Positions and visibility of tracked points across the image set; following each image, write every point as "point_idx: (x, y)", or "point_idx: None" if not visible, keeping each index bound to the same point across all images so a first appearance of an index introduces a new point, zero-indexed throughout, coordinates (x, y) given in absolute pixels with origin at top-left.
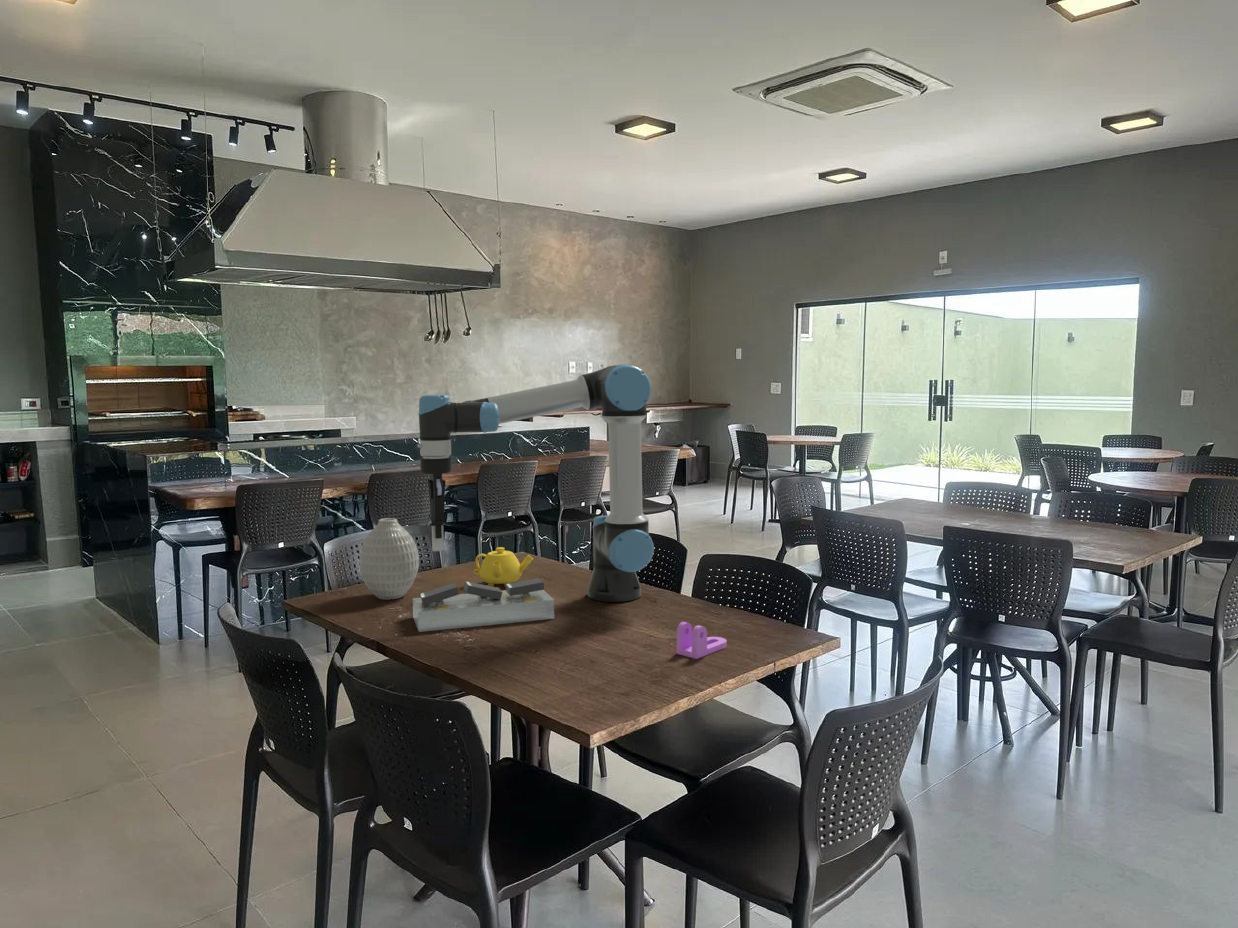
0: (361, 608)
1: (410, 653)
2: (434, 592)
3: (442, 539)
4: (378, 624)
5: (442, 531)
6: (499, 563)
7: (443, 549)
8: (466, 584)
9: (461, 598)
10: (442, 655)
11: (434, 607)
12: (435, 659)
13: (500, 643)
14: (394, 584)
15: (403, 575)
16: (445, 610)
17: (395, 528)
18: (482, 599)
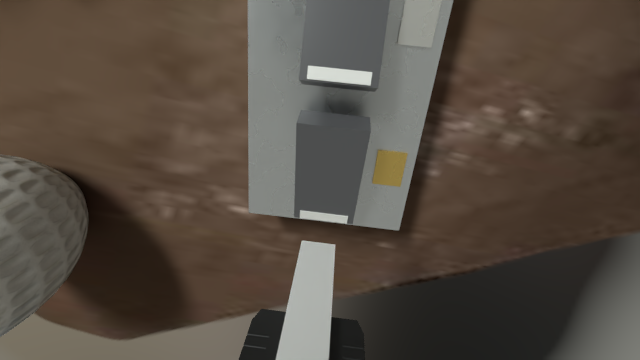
0: (153, 263)
1: (534, 249)
2: (335, 190)
3: (331, 298)
4: (292, 258)
5: (329, 348)
6: None
7: (334, 250)
8: (340, 84)
9: (307, 87)
10: (598, 200)
11: (377, 186)
12: (613, 218)
13: (624, 46)
14: (80, 220)
15: (54, 211)
16: (414, 163)
17: None
18: None
